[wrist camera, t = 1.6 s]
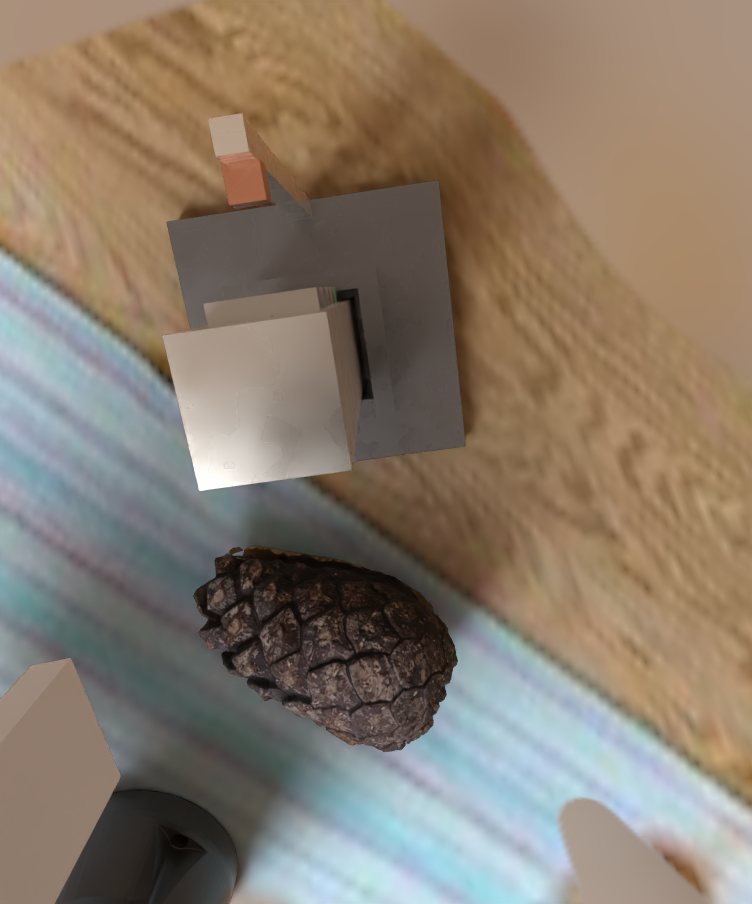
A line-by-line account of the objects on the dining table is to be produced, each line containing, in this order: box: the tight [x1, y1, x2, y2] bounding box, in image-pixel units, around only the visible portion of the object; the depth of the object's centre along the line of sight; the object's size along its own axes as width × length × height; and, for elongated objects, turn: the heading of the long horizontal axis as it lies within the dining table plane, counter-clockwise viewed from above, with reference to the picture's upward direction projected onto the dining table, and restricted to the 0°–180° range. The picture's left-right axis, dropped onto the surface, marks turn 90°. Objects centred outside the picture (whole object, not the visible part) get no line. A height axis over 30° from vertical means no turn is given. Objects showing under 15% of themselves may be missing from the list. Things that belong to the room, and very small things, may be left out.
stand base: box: [167, 113, 466, 461], centre depth 28 cm, size 16×16×19 cm
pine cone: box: [193, 546, 458, 752], centre depth 38 cm, size 10×18×10 cm, turn 75°
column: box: [163, 287, 365, 491], centre depth 26 cm, size 4×5×20 cm
